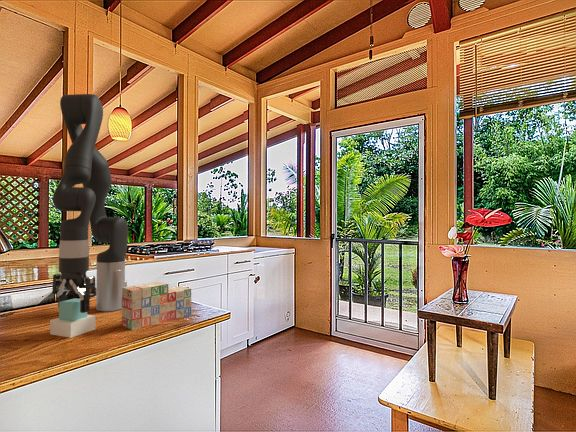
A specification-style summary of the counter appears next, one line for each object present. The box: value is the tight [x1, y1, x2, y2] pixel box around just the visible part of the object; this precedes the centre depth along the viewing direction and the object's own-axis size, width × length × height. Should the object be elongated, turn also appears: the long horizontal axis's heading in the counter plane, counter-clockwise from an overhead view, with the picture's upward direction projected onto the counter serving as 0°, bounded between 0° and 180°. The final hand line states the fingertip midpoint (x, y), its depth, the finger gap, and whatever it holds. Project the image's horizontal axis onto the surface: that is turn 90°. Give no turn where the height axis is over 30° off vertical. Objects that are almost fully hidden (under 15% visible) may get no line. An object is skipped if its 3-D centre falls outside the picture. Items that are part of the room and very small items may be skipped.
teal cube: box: [58, 297, 88, 321], centre depth 102 cm, size 5×5×5 cm
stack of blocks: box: [121, 281, 192, 331], centre depth 114 cm, size 21×6×12 cm, turn 142°
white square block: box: [49, 314, 96, 339], centre depth 102 cm, size 8×8×4 cm
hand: (73, 310), depth 102 cm, fingers open, 8 cm apart
